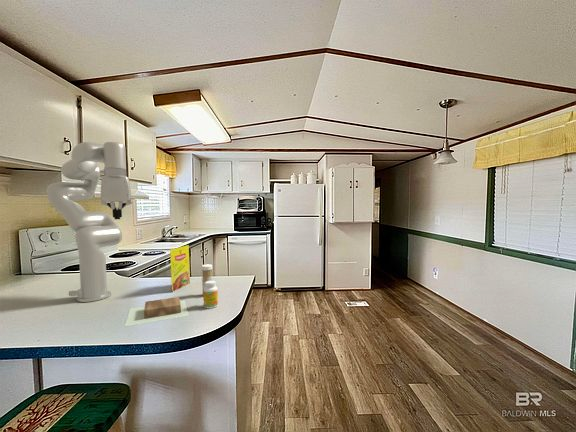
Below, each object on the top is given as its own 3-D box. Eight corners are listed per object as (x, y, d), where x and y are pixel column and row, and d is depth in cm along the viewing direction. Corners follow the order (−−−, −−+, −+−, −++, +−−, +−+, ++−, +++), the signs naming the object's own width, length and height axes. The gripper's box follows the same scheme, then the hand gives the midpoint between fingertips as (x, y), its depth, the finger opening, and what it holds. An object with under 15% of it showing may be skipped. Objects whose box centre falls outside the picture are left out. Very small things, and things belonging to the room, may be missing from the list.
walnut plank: (144, 310, 97) (180, 304, 102) (145, 301, 106) (179, 296, 111) (144, 318, 97) (180, 312, 102) (145, 309, 106) (179, 304, 111)
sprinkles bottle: (200, 295, 123) (199, 265, 123) (209, 292, 127) (208, 263, 126) (206, 297, 120) (205, 266, 120) (215, 294, 124) (214, 264, 123)
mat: (124, 327, 91) (124, 326, 91) (130, 309, 107) (130, 308, 107) (188, 316, 99) (188, 315, 99) (184, 301, 116) (184, 300, 116)
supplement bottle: (205, 309, 106) (204, 284, 106) (202, 305, 111) (202, 281, 110) (219, 307, 108) (218, 282, 108) (216, 302, 113) (215, 279, 113)
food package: (172, 292, 128) (171, 249, 127) (170, 292, 128) (169, 249, 128) (190, 283, 143) (189, 244, 142) (188, 283, 143) (187, 244, 143)
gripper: (91, 172, 104) (93, 220, 105) (135, 173, 111) (137, 219, 111) (95, 174, 111) (97, 219, 112) (137, 175, 117) (139, 218, 118)
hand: (117, 219), depth 112 cm, fingers closed
